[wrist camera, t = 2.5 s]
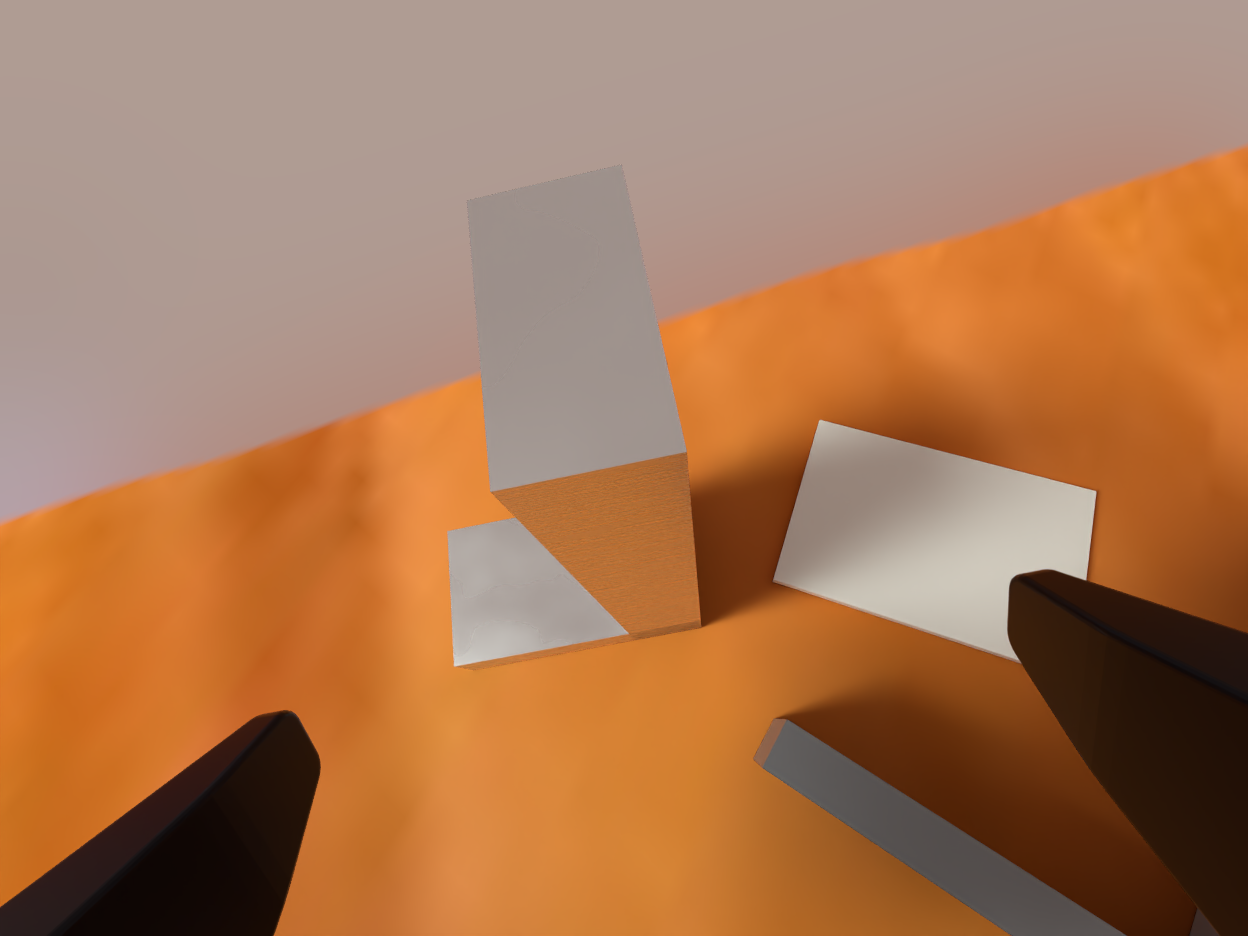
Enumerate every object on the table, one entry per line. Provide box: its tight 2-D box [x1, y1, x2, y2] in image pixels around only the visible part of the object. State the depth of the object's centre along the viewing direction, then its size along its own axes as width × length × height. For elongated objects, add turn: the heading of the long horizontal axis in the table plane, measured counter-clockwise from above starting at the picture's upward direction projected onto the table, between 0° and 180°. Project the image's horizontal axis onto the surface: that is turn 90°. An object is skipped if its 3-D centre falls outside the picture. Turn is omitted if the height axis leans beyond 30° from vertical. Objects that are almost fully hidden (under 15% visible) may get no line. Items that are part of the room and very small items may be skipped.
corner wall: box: [753, 719, 1219, 936], centre depth 15 cm, size 11×13×3 cm
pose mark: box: [773, 420, 1096, 664], centre depth 18 cm, size 8×6×1 cm
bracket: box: [448, 165, 701, 670], centre depth 13 cm, size 7×4×13 cm, turn 99°
